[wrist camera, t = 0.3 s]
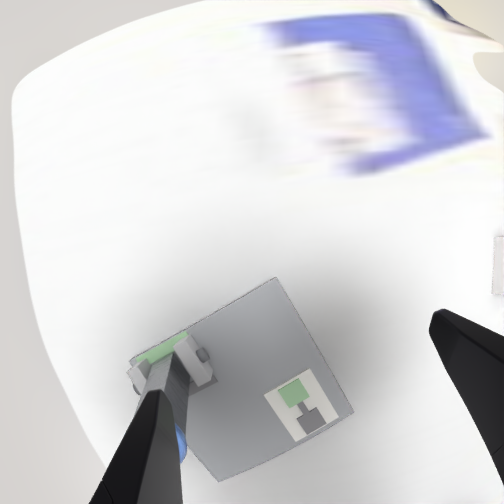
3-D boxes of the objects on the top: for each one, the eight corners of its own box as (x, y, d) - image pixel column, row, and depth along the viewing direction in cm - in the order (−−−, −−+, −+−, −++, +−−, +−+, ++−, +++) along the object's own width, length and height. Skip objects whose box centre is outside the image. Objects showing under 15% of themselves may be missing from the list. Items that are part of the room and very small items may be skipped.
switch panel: (350, 407, 24) (365, 424, 20) (218, 476, 23) (217, 498, 19) (275, 277, 24) (281, 277, 21) (132, 358, 23) (117, 369, 20)
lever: (200, 376, 22) (199, 472, 11) (166, 393, 21) (148, 490, 11) (177, 343, 21) (158, 430, 11) (143, 362, 21) (106, 450, 11)
